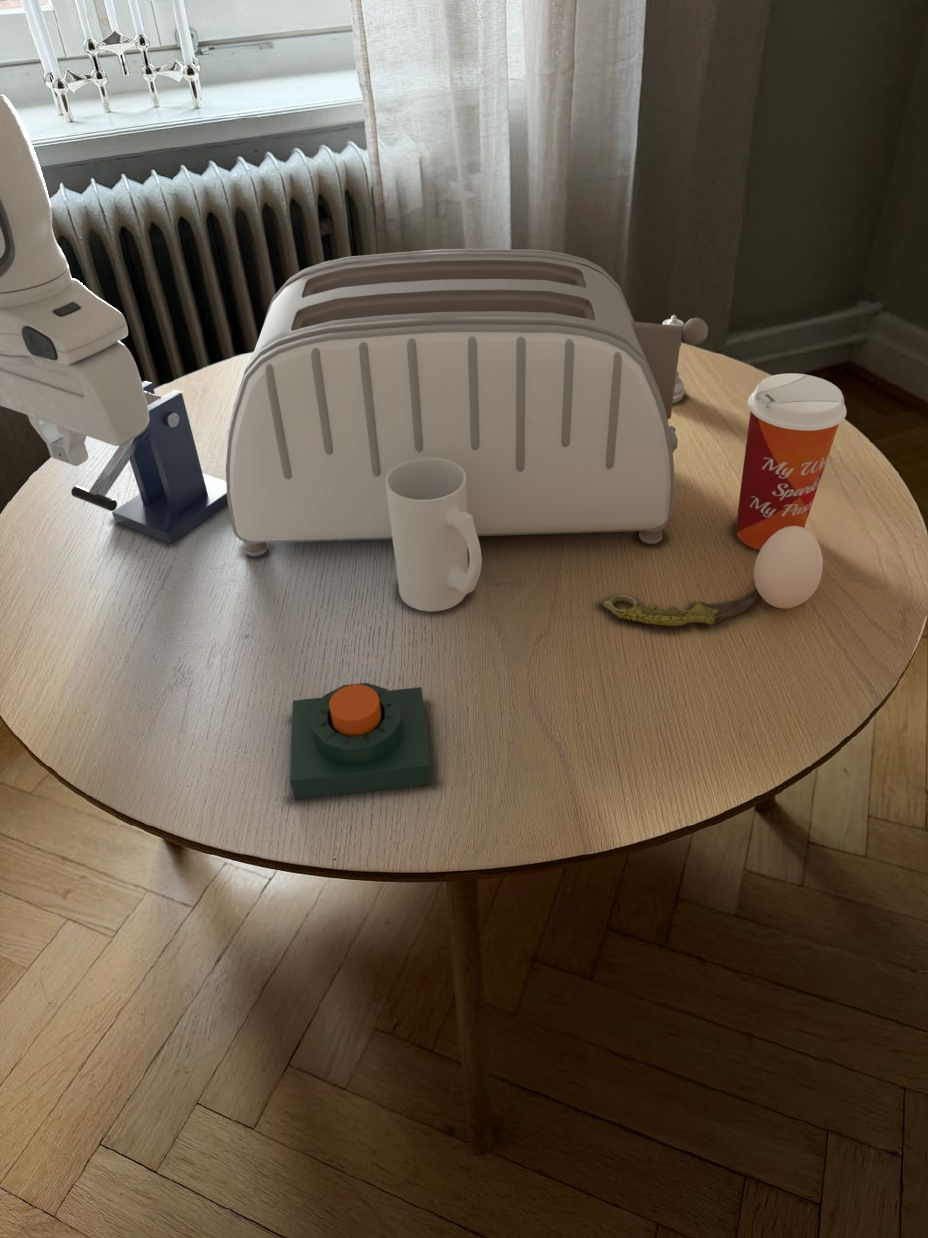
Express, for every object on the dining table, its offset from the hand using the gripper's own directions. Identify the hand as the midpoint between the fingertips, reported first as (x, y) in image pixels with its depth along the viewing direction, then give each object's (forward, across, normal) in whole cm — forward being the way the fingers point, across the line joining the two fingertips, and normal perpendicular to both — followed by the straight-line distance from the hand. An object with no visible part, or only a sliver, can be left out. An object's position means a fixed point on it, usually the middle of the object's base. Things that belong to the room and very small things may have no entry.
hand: (70, 459), depth 83 cm
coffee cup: (+9, +56, +34) cm, 66 cm away
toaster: (+10, +26, +25) cm, 38 cm away
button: (+7, +37, -8) cm, 38 cm away
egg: (+10, +59, +24) cm, 65 cm away
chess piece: (+9, +36, +55) cm, 67 cm away
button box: (+10, +37, -8) cm, 39 cm away
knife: (+10, +53, +19) cm, 57 cm away
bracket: (+10, +1, +10) cm, 14 cm away
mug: (+10, +33, +10) cm, 36 cm away
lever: (+3, +1, +6) cm, 7 cm away
